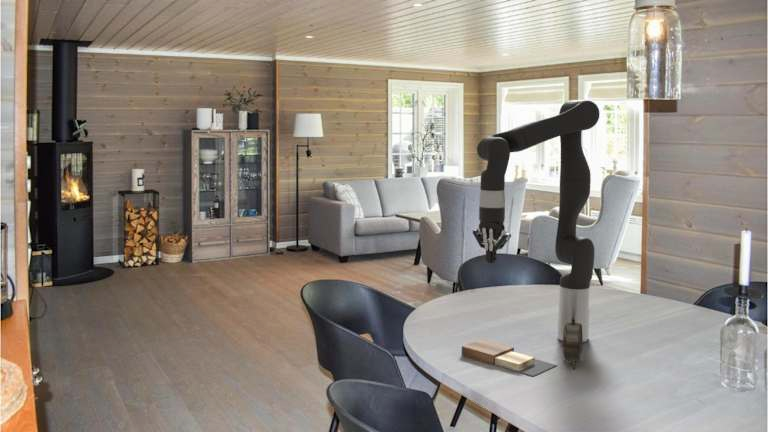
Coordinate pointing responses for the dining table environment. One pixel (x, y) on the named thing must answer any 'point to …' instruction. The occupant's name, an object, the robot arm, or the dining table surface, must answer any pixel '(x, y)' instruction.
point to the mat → (535, 368)
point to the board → (485, 351)
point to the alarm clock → (573, 342)
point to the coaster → (514, 361)
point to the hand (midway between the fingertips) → (490, 262)
